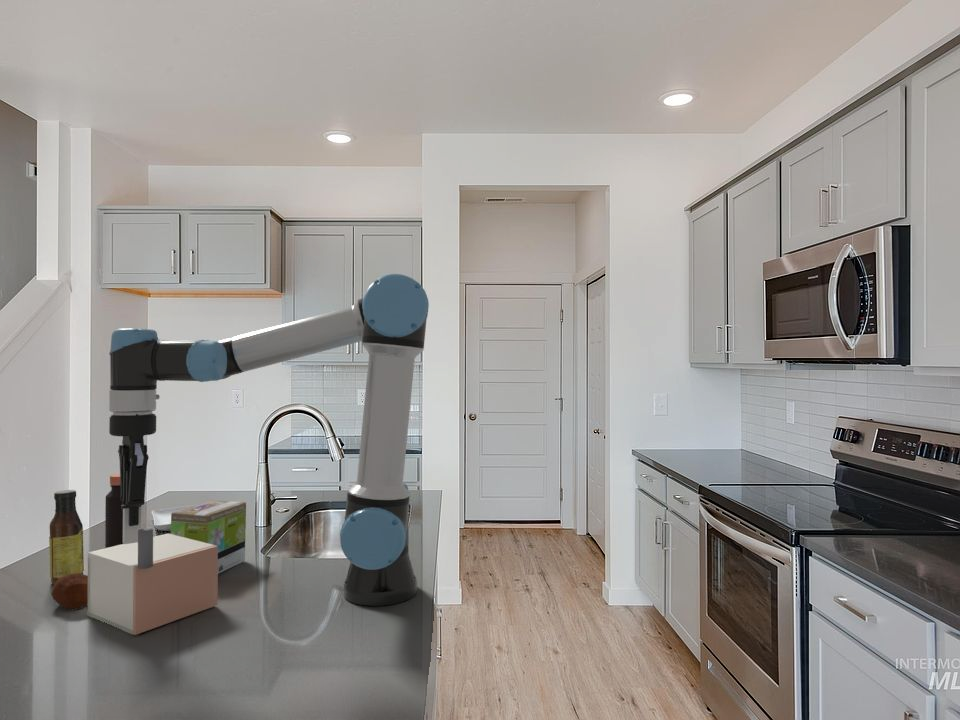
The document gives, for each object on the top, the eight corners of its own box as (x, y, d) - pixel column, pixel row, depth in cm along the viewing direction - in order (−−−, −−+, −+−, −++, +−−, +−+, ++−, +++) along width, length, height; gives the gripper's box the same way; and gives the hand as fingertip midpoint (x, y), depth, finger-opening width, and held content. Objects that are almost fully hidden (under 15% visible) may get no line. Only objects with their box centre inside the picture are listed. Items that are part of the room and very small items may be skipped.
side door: (215, 604, 124) (215, 512, 124) (222, 606, 123) (222, 514, 123) (132, 633, 110) (133, 530, 110) (140, 637, 109) (140, 532, 109)
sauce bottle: (90, 579, 139) (90, 490, 140) (61, 588, 134) (61, 495, 134) (71, 575, 142) (71, 487, 142) (42, 583, 137) (42, 492, 137)
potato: (54, 617, 119) (54, 583, 119) (49, 603, 126) (49, 570, 126) (97, 608, 123) (97, 575, 123) (89, 595, 130) (90, 563, 130)
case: (214, 605, 124) (214, 545, 124) (133, 634, 111) (133, 567, 111) (167, 590, 133) (168, 533, 133) (87, 615, 119) (87, 552, 119)
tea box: (208, 582, 138) (208, 514, 138) (168, 578, 140) (168, 512, 140) (246, 561, 153) (247, 500, 153) (210, 558, 155) (210, 498, 155)
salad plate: (154, 536, 176) (154, 524, 176) (150, 520, 194) (150, 509, 194) (234, 526, 186) (234, 515, 186) (224, 512, 205) (224, 501, 205)
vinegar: (137, 549, 162) (137, 472, 162) (135, 556, 156) (135, 476, 156) (106, 552, 159) (107, 473, 159) (103, 560, 153) (104, 478, 153)
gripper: (164, 414, 112) (163, 546, 112) (147, 410, 122) (146, 531, 122) (116, 416, 107) (115, 554, 107) (103, 411, 117) (101, 537, 117)
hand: (131, 542), depth 114 cm, fingers closed
